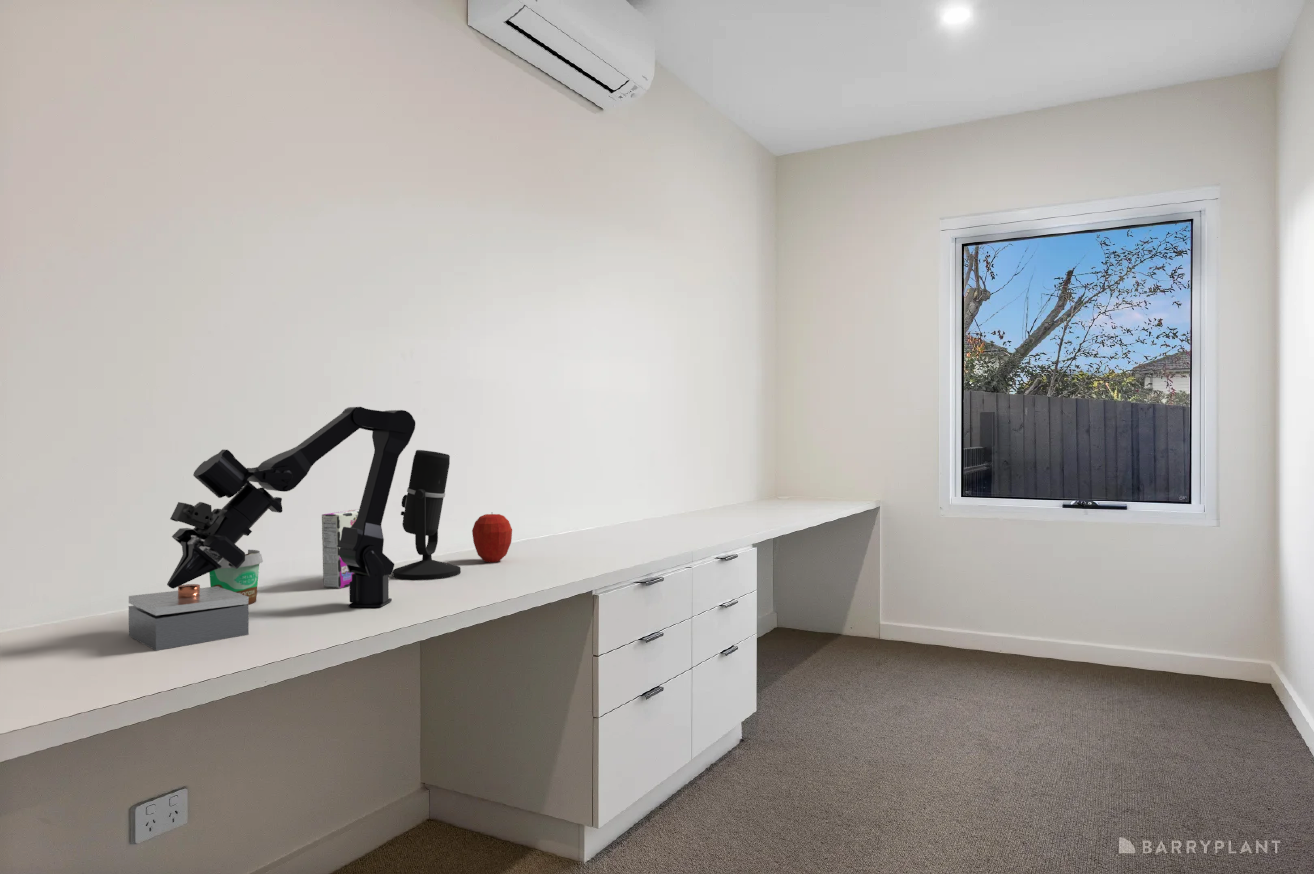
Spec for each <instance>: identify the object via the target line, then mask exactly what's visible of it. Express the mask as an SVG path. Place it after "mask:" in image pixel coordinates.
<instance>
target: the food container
mask: <svg viewBox="0 0 1314 874" xmlns="http://www.w3.org/2000/svg"><path fill="white" fill-rule="evenodd" d="M263 562H264V560H263V556H262V553H261V552H260V550H257V549H247V553H245V561H244V562H243V563H242V564H241V565H240V566H239V567H238V569H235V568H231V567H230V566H229V562H228V561H226V560H225V559H224V558H223V559H222V560H221V561H220V563H219V565H221V566H222V567H221V568H220V569H216V570H213V571H211V572H209V583H210V586H209V587H216V586H218V587H221V588H224V589H227V590H230V591H233V592H236V593H239V594H242V595H245V596H248V597H249V600H248V604H247V605H248V606H249V605H252V604H255V603H256V602H257V598H258V597H257V594H258V585H259V583H258V582H259V573H260V572H259V570H260V564H262V563H263Z"/></svg>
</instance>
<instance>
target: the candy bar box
mask: <svg viewBox="0 0 1314 874" xmlns="http://www.w3.org/2000/svg"><path fill="white" fill-rule="evenodd" d="M359 509H360V508H357V509H351V510H350V509H349V510H343V511H336V512H335V511H334V512H330V513H324V514H321V535H322V536H321V539H322V540H321V541H322V543H321V545H322V582H323V585H322V586H323V588H327V589H342V588H346V587H349V583H350V582H351V581H352V574H354V573H353V572H352V573H351V572H349V570H348V567H347V565H346V564H345V563H344V562H343V561H342V559H341V557H340V556H339V550H340V547H337V545H338V544H339V542H340V540H341V535H342V529H343V527H349V528H351V526H352V525H353V524H354V522H355V521H356V519H357V516H358V512H359Z"/></svg>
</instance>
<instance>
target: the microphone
mask: <svg viewBox="0 0 1314 874" xmlns="http://www.w3.org/2000/svg"><path fill="white" fill-rule="evenodd" d="M450 458H451V456H450V454H447V453H443V452H439V451H433V450H432V451H431V450H424V449H416V450H415V452H414V455H413V459H412V465H411V471H410V476H409V483H408V487H407V489H406V492H407V494H404V496H402V499H401V506H402V508H404V511H403V510H402V511H401V512H400V516H402V523H401V524H402V528H403V530H404V531H405V533H408V534H410V535H415V537H414V539H415V540H414V541H415V542H414V543H415V550H416V552H417V554H418V556H422V557H421V558H422V559H421V560H419V561H418V560H417V561H415V562H412V563H409V564H405V565H402V566H400V567H396V568H393V571H392V577H393V578H394V579H399V580H408V581H428V580H429V581H430V580H441V579H447V578H453V577H457V576H458V575H460V574H461V569H462V568H461V566H458V565H457V564H456V565H455V564H451V563H449V562H447V563H446V562H443V561H438V560H434V559H432V555H433V554H434V553H435V552H436V550H437V547H438V542H439V541H438V540H439V526H440V520H441V516H442V515H441V514H442V509H443V503H444V498H445V497H446V487H447V481H448V475H449V469H450ZM426 537H427V538H426ZM426 541H427V544H426Z"/></svg>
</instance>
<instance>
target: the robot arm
mask: <svg viewBox="0 0 1314 874" xmlns="http://www.w3.org/2000/svg"><path fill="white" fill-rule="evenodd" d="M359 429H361V430H365V431H371V432H372V435H371V436H372V443H373V448H374V449H373V450H374V451H373V457H372V461H371V463H370V467H369V472H368V475H367V479H366V483H365V487H364V490H363V494H362V497H361V502H360V506H359V508H358V509H359V512H358V516H357V519H356V521H355V522H354V524H353V525H352V526H351V528H349V527H343V529H342V535H341V540H340V542H339V544H338V545H337V547H340V550H339V556H340V557H341V559H342V561H343V562H344V563H345V564H346V565H347V567H348V570H349V572H351V573H352V572H353V573H354V574H352V581H351V582H350V583H349V586H348V587H349V591H348V592H349V594H348V595H349V604H347V605H348V608H382V607H383V606H385V605H387V604H389V603H391V602H392V600H393V599H392V598H389V592H390V591H389V589H390V588H389V581H390V580H389V575H393V570H394V569H395V568H394V567H395V563H394V562H393V561H392V560H391V559H390V558H389V557H388V556H387V555H386V554H385V553H384V541H385V538H384V534H383V528H382V522H383V519H384V514H385V511H386V506H387V504H388V498H389V495H390V492H391V487H392V483H393V480H394V476H395V472H396V469H397V464H398V460H399V457H400V456H401V454H402V453H403V451H404V450H405V449H406V448H407V446H408V445H409V444H410V441H411V438H412V436H413V435H414V432H415V430H416V420H415V419H414V417H413V415H412V414H411V412H409V411H407V410H403V409H397V410H396V409H395V410H394V409H391V410H376V409H370V408H365V407H362V406H348V407H346V408H345V409H344V410H343V411H342V412H341V413H340V414H338V415H337V416H336V417H334V418H333V419H332V420H330V421H329V422H328V423H326V424H325V425H324V426H322V427H321V428H319V430H317V431H316V432H314V433H313V434H312V435H310V436H308V438H306V439H305V440H303V441H302V442H301V443H299V444H298V445H296V446H295V447H292V448H291V449H288V450H286V451H282V452H280V453H278V454H276V455H274V456H272V457H270V458H268V459H265V460H264V461H262V462H261V463H260V464H259V465H258V466H256V467H246V466H245V465H244V464H242V462H240V461H239V460H238V459H237V458H236V456H235V455H234V454H233V453H232V452H231V451H230V450H229V449H221V450H220V451H219V452H218V453H216V454H214V455H213V456H210V457H209V458H207V460H204V461H202V462H201V463H200V465H198V466H197V467H196V469H195V470H194V472H193V475H192V476H193V477H194V478H195V479H197V480H198V481H199V482H200V483H201V484H202V485H203V486H204V487H206V489H208V490H209V491H210V492H211V493H212V494H213V495H215V496H216V497H217V498H218V499H221V498H222V499H223V498H225V497H226V498H228V499H230V498H231V499H230V500H229V501H228V502H226V504H224V506H223V507H222V508H213V510H212V505H211V504H209V503H206V502H202V501H199V502H197V503H196V504H195V505H193V504H189V503H186V502H179V501H178V502H177V504H176V505H175V508H174V511H173V512H172V514H171V515H170V516H171V517H170V519H169V520H170V521H173V522H180V523H183V524H185V525H189V526H192V527H193V528H190V527H181V528H178V529H177V531H176V532H174V534H172V536H171V538H172V539H174V541H176V542H177V543H178V544H180V546H181V550H182V555H181V558H180V560H179V561H178V563H177V565H176V568H175V569H174V571H173V572H172V574H171V576H170V578H169V580H168V581H167V583H166V584H167V587H169V588H170V589H174V590H175V589H176V588H178V586H180V585H186V583H187V584H188V583H189V582H192V581H193V580H195V579H197V578H199V577H202V576H204V575H207V574H208V573H209V572H211V571H213V570H216V569H220V568H221V567H222V566H221V565H219V563H220V561H221V560H222V559H223V558H224V559H225V560H226V561H228V562H229V566H230V567H231V568H235V569H238V567H239V566H240V565H241V564H242V563H243V562H244V561H245V554H246V552H244V550H243V549H241V548H240V547H239V546H238V545H236V544H237V543H238V541H239V540H241V538H243V536H247V537H248V536H250V534H251V533H253V531H252V530H251V528H252V527H253V525H255V523H257V522H258V520H259V519H260V518H262V516H264V514H265V513H266V512H267V511H268V510H270V511H271V512H273V513H279V514H281V513H283V506H282V500H283V498H282V497H278V496H275V497H274V496H273V495H272V494H270V493H269V491H275V492H290V491H292V490H293V489H295V488H296V487H297V486H298V485H300V483H301V482H302V481H303V480H304V478H305V477H306V476H307V475H308V474H309V471H310V470H311V468H312V466H313V465H315V463H316V462H317V461H319V460H321V458H322V457H324V456H325V455H327V454H328V453H329V452H331V451H332V450H333V449H334V448H336V447H337V446H338V445H340V444H341V443H342V442H343V441H345V440H346V439H348V438H349V437H350V436H351V435H353V434H354V433H355V432H357V431H358V430H359ZM251 482H252V483H251ZM253 483H257V484H258V485H259V486H260V487H258V488H257V487H256V486H255V485H254V484H253Z"/></svg>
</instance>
